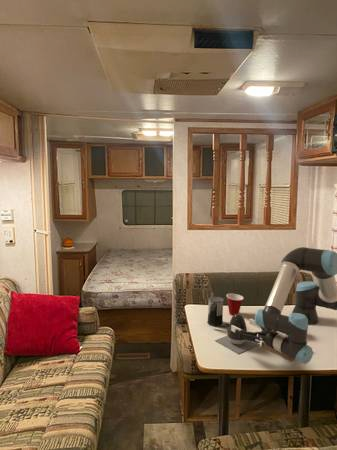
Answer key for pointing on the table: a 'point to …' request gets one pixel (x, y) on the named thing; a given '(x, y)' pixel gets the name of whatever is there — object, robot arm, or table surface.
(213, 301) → the milk frother
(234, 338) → the pump dispenser
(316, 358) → the table surface
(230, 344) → the rubber mat
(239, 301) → the plastic cup
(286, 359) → the walnut collar
